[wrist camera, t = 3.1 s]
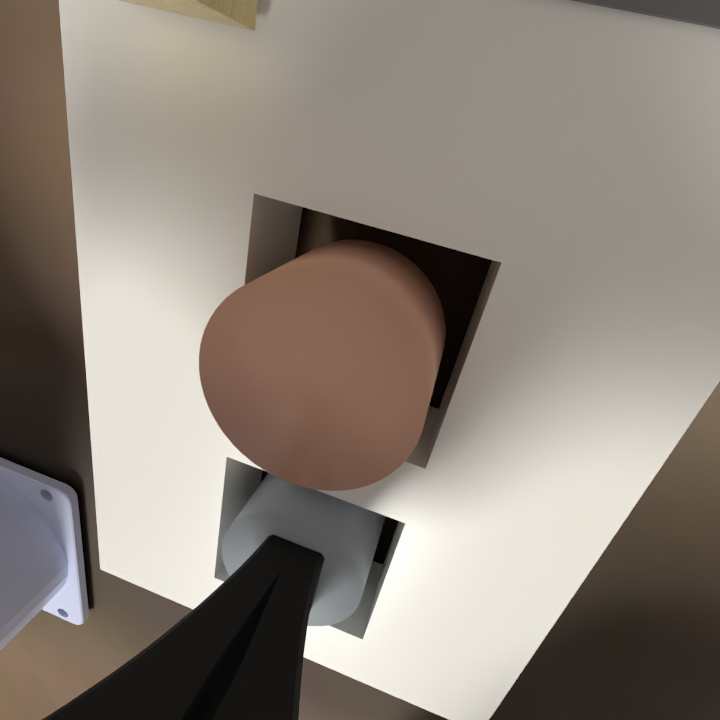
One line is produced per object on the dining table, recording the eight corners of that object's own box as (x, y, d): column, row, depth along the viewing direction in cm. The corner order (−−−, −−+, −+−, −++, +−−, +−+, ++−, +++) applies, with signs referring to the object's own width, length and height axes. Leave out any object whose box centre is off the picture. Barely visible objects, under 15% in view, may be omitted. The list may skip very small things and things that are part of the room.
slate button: (264, 517, 14) (216, 592, 12) (279, 426, 13) (227, 491, 10) (371, 558, 14) (345, 646, 11) (401, 469, 12) (378, 549, 10)
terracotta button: (265, 377, 10) (193, 446, 8) (287, 217, 9) (205, 242, 6) (417, 428, 10) (391, 520, 7) (471, 270, 8) (461, 319, 6)
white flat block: (153, 513, 16) (97, 571, 14) (161, -393, 7) (3, -650, 5) (482, 645, 14) (479, 737, 12) (1042, -321, 5) (1444, -668, 3)
